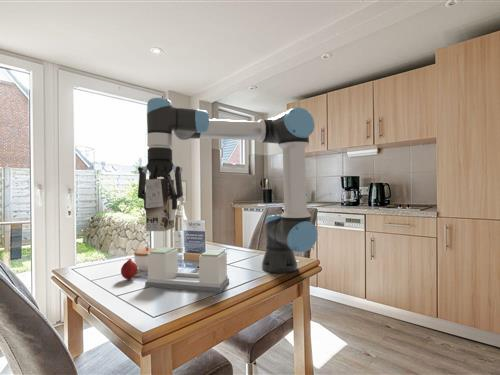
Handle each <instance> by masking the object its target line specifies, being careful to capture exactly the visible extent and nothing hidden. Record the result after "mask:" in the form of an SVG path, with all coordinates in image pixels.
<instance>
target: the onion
mask: <svg viewBox="0 0 500 375" xmlns="http://www.w3.org/2000/svg"><path fill="white" fill-rule="evenodd" d="M132 260H133V259H132V258H129V259H127V261H126V262H124V263H123V265H121V268H120V274H121V277H122V278H124V279H126V280H128V281H131V280H132V279H133V278H134V277H135V276H136V275H137V273H138V270H139V268H138V267H137V265H136V264H135V261H132Z"/></svg>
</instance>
